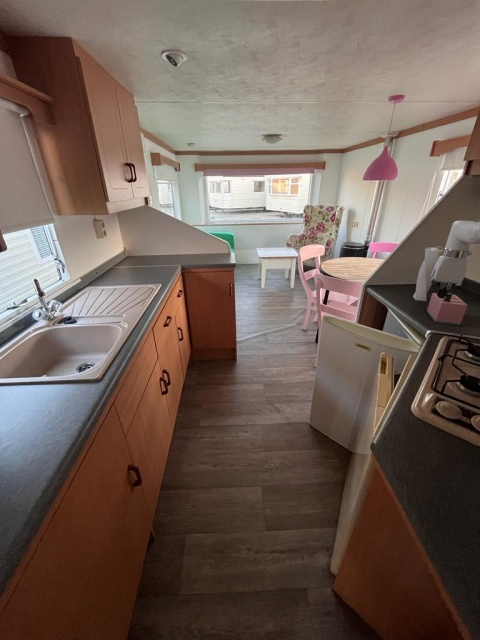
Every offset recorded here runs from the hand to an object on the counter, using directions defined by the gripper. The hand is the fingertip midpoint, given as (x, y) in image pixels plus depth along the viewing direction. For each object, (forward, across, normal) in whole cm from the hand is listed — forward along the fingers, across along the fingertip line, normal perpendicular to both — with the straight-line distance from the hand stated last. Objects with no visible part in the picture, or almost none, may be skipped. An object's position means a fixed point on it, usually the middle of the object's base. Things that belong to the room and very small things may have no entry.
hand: (440, 297), depth 113 cm
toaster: (+10, -4, -4) cm, 12 cm away
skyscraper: (+10, -1, -28) cm, 29 cm away
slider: (+1, -3, 0) cm, 3 cm away
